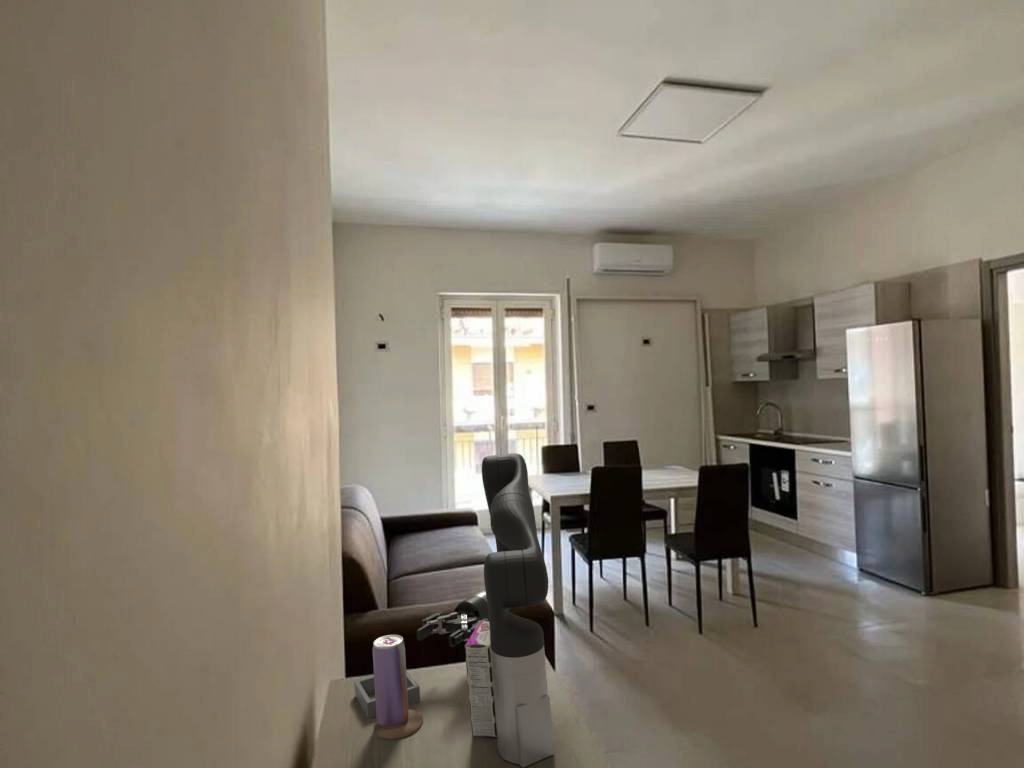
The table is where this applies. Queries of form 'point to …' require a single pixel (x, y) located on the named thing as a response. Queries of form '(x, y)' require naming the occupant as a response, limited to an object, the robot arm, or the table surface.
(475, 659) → the candy bar box
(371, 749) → the table surface
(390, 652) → the beverage can
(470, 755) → the table surface
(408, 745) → the table surface
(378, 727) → the coaster
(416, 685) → the square frame
